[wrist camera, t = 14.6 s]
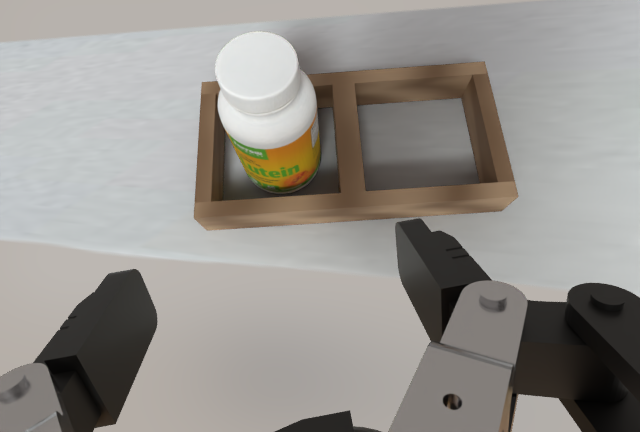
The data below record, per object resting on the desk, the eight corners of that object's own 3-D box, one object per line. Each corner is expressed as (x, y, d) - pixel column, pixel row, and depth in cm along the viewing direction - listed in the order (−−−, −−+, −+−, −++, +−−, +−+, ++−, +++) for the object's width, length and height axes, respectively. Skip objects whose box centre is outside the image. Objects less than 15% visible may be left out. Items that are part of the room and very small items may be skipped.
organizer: (472, 85, 29) (484, 61, 26) (501, 211, 25) (518, 196, 23) (212, 104, 29) (201, 82, 27) (206, 230, 26) (193, 217, 23)
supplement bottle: (240, 194, 26) (189, 110, 17) (250, 127, 28) (208, 18, 19) (319, 197, 26) (309, 113, 17) (323, 128, 28) (316, 19, 19)
